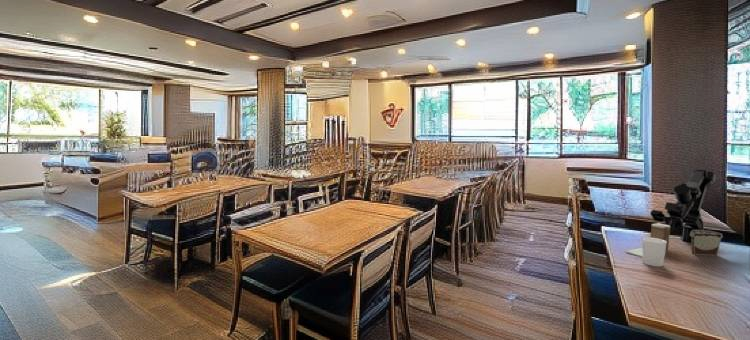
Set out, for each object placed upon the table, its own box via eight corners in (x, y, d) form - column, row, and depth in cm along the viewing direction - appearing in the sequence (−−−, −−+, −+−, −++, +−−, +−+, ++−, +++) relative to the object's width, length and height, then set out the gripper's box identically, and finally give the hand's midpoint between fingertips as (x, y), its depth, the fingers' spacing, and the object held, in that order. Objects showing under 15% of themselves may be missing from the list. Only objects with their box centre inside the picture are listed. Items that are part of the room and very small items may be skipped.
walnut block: (655, 248, 177) (658, 223, 175) (667, 251, 172) (670, 225, 171) (649, 249, 174) (651, 224, 173) (661, 252, 170) (663, 226, 169)
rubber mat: (644, 248, 176) (644, 247, 176) (665, 254, 168) (665, 253, 168) (625, 252, 170) (625, 251, 170) (646, 258, 162) (646, 257, 162)
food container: (709, 251, 173) (712, 229, 172) (720, 255, 167) (723, 233, 166) (681, 250, 174) (683, 228, 173) (690, 254, 168) (693, 232, 167)
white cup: (660, 261, 158) (662, 238, 157) (667, 268, 151) (670, 243, 150) (638, 259, 161) (640, 236, 160) (644, 265, 154) (646, 241, 152)
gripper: (654, 193, 183) (638, 217, 180) (700, 199, 166) (684, 226, 163) (662, 207, 187) (646, 231, 184) (708, 216, 171) (692, 242, 167)
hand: (666, 232), depth 174 cm, fingers closed
